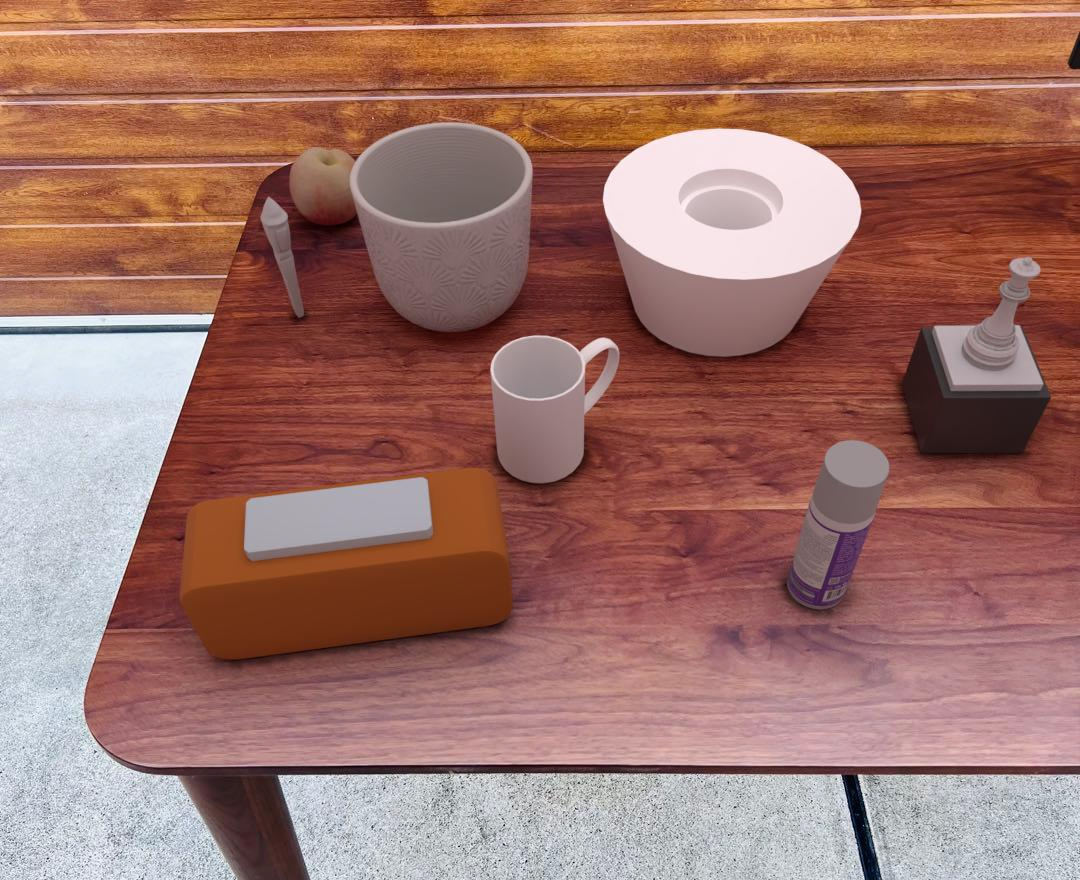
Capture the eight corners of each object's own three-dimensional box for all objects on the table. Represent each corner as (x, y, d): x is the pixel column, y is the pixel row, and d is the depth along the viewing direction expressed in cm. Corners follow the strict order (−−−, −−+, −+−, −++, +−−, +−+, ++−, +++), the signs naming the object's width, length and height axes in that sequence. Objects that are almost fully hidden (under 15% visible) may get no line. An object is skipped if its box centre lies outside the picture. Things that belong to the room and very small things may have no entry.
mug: (528, 498, 88) (524, 414, 80) (481, 444, 93) (472, 358, 84) (638, 440, 92) (645, 354, 84) (588, 390, 96) (590, 304, 88)
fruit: (364, 238, 112) (351, 174, 106) (292, 238, 112) (276, 174, 106) (373, 196, 117) (361, 132, 110) (304, 196, 117) (289, 133, 111)
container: (842, 564, 83) (887, 440, 71) (847, 611, 80) (895, 490, 69) (785, 561, 84) (820, 436, 72) (788, 607, 81) (825, 486, 69)
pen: (306, 304, 105) (275, 185, 94) (317, 318, 104) (286, 199, 93) (284, 313, 105) (250, 194, 93) (294, 327, 103) (261, 208, 92)
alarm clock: (502, 542, 86) (494, 452, 77) (515, 624, 81) (507, 537, 72) (217, 579, 84) (174, 491, 75) (211, 665, 79) (165, 581, 70)
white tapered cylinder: (880, 340, 100) (913, 238, 90) (662, 408, 95) (672, 308, 85) (760, 209, 113) (778, 108, 104) (564, 262, 108) (563, 161, 99)
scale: (999, 383, 96) (1029, 319, 90) (1025, 453, 90) (1059, 390, 84) (901, 383, 96) (923, 319, 90) (920, 453, 91) (946, 390, 84)
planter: (564, 325, 102) (563, 193, 90) (409, 377, 98) (386, 247, 86) (497, 234, 112) (488, 104, 100) (352, 279, 108) (324, 149, 96)
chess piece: (1020, 347, 87) (1065, 251, 79) (1005, 377, 85) (1049, 282, 77) (970, 330, 89) (1009, 234, 81) (954, 359, 87) (992, 263, 79)
